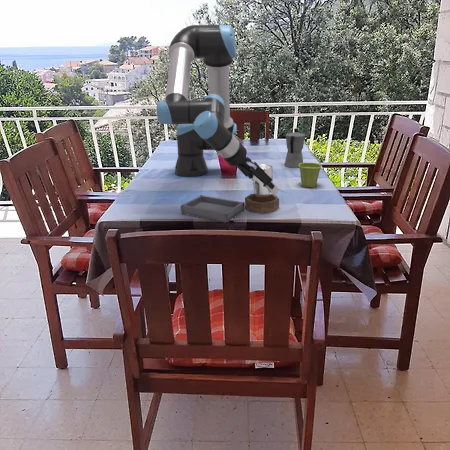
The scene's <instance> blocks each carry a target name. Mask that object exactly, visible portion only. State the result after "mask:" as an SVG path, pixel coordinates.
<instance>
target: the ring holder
mask: <svg viewBox="0 0 450 450" xmlns="http://www.w3.org/2000/svg"><path fill="white" fill-rule="evenodd" d="M244 208H246V209H247V210H248V212H252V211H254V212H253V213H258V212H259V214H265V213H264V212H267V213H272V212H271V211H274V212H276V211H277V210H278V209H279V208H280V198H279V197H278V196H277V194H276V195H273V194H272V193H270V202H262V203H261V202H255V194H254V193H250V194H248V195H247V196H246V197H245V198H244ZM276 209H277V210H276Z"/></svg>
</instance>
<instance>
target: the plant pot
mask: <svg viewBox="0 0 450 450" xmlns="http://www.w3.org/2000/svg"><path fill="white" fill-rule="evenodd" d="M298 166H299V168H298V169H299V172H300V184H301V186H302V187H305V188H315V187H317V184H318V179H319V175H320V171H321V168H323V165H322V164H321V163H317V162H303V163H300V164H299V165H298Z"/></svg>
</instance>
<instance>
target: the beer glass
mask: <svg viewBox="0 0 450 450" xmlns="http://www.w3.org/2000/svg"><path fill="white" fill-rule="evenodd" d="M257 164H258V163H257ZM258 166H259V167H260V168H261V169H262V170H263V171H264V172H265V173H266V174H267V175H268V176H269V177H270V178H272V182H273V180H274V179H273V178H274V177H273V176H274V175H273V165H271V164H268V163H267V164H266V163H264V164H263V163H261V164H260V163H259V164H258ZM263 185H264V184H263V183H262V182H261V181H260V180H259V179H258V178H256V177H255V176H254V175H253V181H252V186H253V192H254V193H253V194H255V202H261V203H262V202H270V194H271V192H270V191H269V190H268V189H267V188H266V187H264V186H263Z"/></svg>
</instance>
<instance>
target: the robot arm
mask: <svg viewBox="0 0 450 450" xmlns="http://www.w3.org/2000/svg"><path fill="white" fill-rule="evenodd" d="M235 37H236V36H235V31H234V28H233V26H232V25H230V24H192V25H188V26H186V27H184V28H182V29H181V30H180V31H178V32H177V33H176V35H175V36H174V37H173V38H172V40H171V42H170V44H169V47H168V57H169V65H168V66H169V67H168V75H167V82H166V90H165V97H164V99H163V100H160V101H159V100H158V102H157V103H156V119H157V121H158V123H159V124H160V125H171V126H173V125H177V126H176V133H175V134H176V142H177V160H176V163H175V166H174V174H175V175H176V176H180V177H193V178H194V177H200V176H203V175H206V174H208V173H209V172H208V170H209V169H208V168H209V167H208V165H207V161H206V159H205V156H204V151H215V152H217V154H216V155H217V156H219V157H220V156H221V158H223V161H225V162H227V164H228V165H229V166H233V167H236V168H237V169H238V170H239V171H240V172H241V173H242V174H243V175H244V176H245V177H248V179H249V180H251V181H252V182H253V175H254V176H255V177H256V178H258V179H259V180H260V181H261V182H262V183H263V184H264V185H263V186H264V187H266V188H267V189H268V190H269V191H270V194H273V195H276V196H277V194H278V193H279V191H280V188H278V186H277V185H276V184H275V183H274V182H273V181H272V178H270V177H269V176H268V175H267V174H266V173H265V172H264V171H263V170H262V169H261V168H260V167H259V166H258V163H257V162H256V161H252V159H251V158H250V157H248V156H247V154H248V151H247V148H246V147H245V146H244V145H243V144H242V142H240V141H239V140H238V138H237V128H238V127H237V126H238V125H237V123H235V122H234V119H233V117H231V114H230V113H231V112H230V110H231V109H230V100H231V99H230V66H232V64H233V62H234V59H235V58H237V45H236V38H235ZM194 59H202V61H203V64H204V66H206V68H207V84H208V85H207V86H208V95H206V96H205V97H204V98H203V99H202V100H201V99H200V100H199V99H198V100H197V99H196V100H189V90H190V80H191V79H190V77H191V67H192V63H193V61H194Z"/></svg>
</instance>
